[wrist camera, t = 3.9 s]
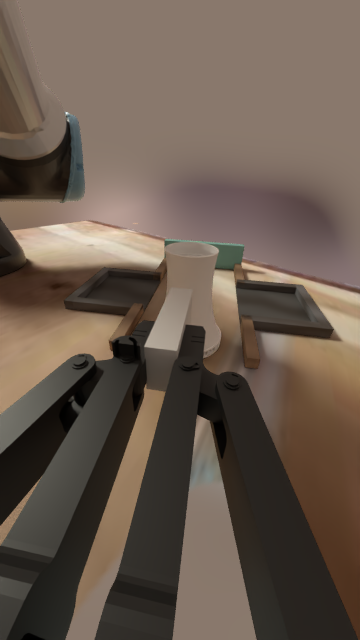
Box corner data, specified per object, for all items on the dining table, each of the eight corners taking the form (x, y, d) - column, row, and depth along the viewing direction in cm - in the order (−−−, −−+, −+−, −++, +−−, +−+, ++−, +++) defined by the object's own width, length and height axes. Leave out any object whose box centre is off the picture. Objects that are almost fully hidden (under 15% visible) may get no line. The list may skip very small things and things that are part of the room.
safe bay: (240, 270, 45) (244, 246, 43) (164, 263, 47) (164, 240, 44) (239, 267, 46) (243, 244, 44) (165, 261, 48) (165, 238, 45)
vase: (204, 371, 22) (217, 269, 17) (138, 345, 25) (131, 251, 19) (228, 331, 28) (244, 245, 22) (173, 314, 31) (174, 234, 25)
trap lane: (357, 381, 22) (363, 372, 21) (30, 339, 25) (26, 330, 24) (288, 274, 44) (290, 268, 43) (121, 259, 48) (120, 254, 47)
